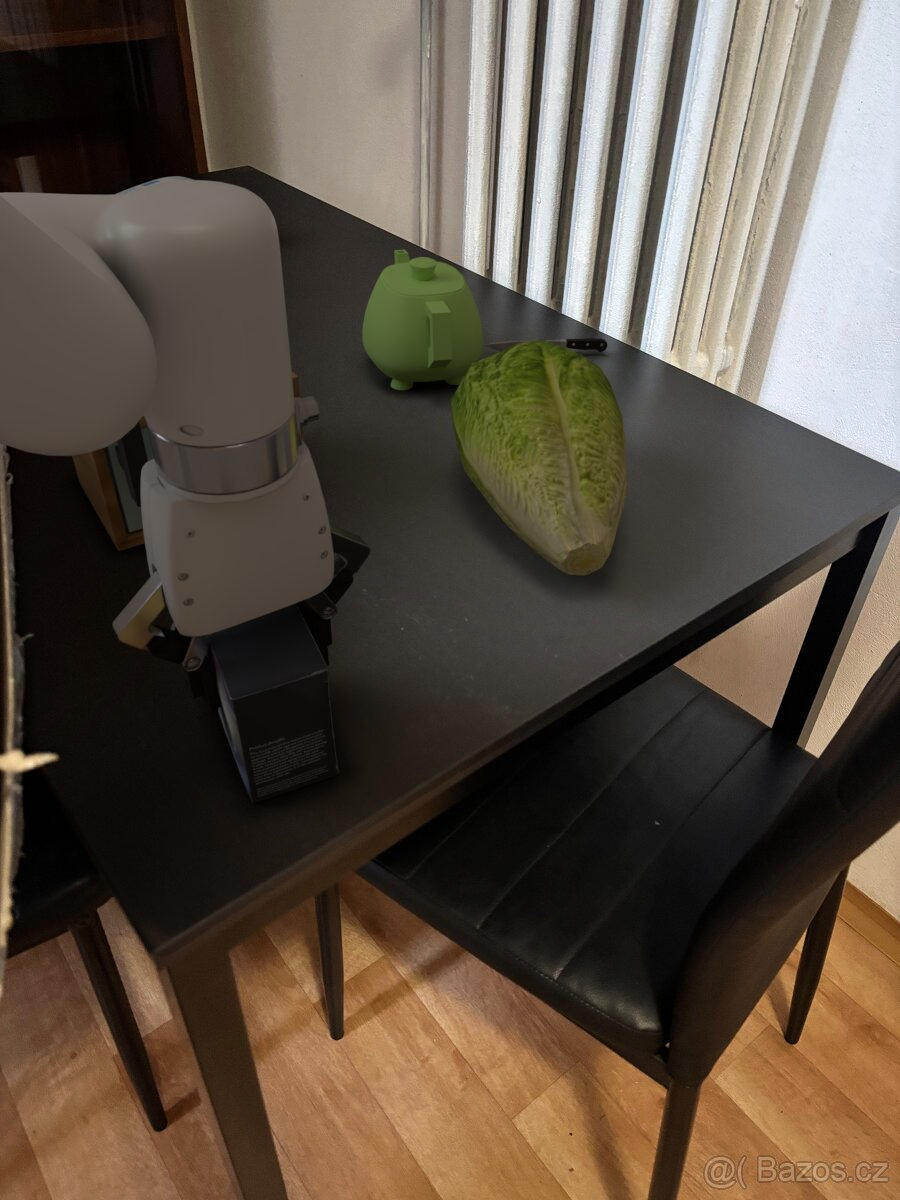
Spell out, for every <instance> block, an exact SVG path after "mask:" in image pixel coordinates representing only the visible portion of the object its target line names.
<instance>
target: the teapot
mask: <svg viewBox="0 0 900 1200" xmlns="http://www.w3.org/2000/svg"><path fill="white" fill-rule="evenodd" d="M393 254H394V264H391V265H388V266H387V267H384V268H383V270H382V271H381V273H380V275H379V277H378V278H377V280H376V282H375V285H374V287H373V290H372V292H371V293H370V296H369V299H368V302H367V305H366V309H365V311H364V317H363V322H362V331H361V332H362V333H361V334H362V336H361V337H362V344H363V347H364V351H365V352H366V354H367V356H368V357H369V359H370V361H372V363H373V364H374V365H375V366H376V367H377V369H378V370H379V371H380V372H382V373H383V374H384V375H385V376H387V377H389V378H391V379H392V380H391V382H390V387H391V388H392V389H394V390H397V391H408V390H410V389H412V388H413V387H414V383H424V382H426V383H427V382H437V381H444V383H446V384H447V385H452V386H459V385H460V383H461V381H462V379H463V378H464V376H465V374H466V373H467V371H468V369H469V368H470V366H471V364H472V363H474V362H477V361H479V360H480V358H481V356H482V353H483V349H484V335H483V326H482V319H481V315H480V312H479V308H478V306H477V303H476V300H475V298H474V296H473V294H472V291H471V289H470V287H469V285H468V283H467V281H466V279H465V277H464V276H463V274H462V273H461V272H460V271H459V270H458V269H456V267H454V266H452V265H450V264H448V263H446V262H442V261H437V260H436V259H433V258H431V257H428V256H427V257H426V256H419V257H415V258H410V256H409V252H408V251H407V250H406V249H394V253H393Z"/></svg>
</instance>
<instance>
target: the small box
mask: <svg viewBox="0 0 900 1200" xmlns="http://www.w3.org/2000/svg"><path fill="white" fill-rule="evenodd" d="M206 656H207V657H208V659H209V661H210V663H211V664H212V666H213V669H214V674H215V679H216V684H217V688H218V693H219V698H220V703H221V707H219V710H217V712H218V715H219V718H220V720H221V724H222V727H223V729H224V733H225V735H226V739H227V741H228V744H229V746H230V747H229V748H230V749H231V752H232V754H233V758H234V761H235V763H236V767H237V769H238V772H239V775H240V777H241V779H242V782H243V784H244V787H245V789H246V792H247V795H248V797H249V800H250V802H251V803H252V804H256V803H260V802H263V801H265V800H268V799H271V798H275V797H277V796H280V795H283V794H287V793H289V792H292V791H295V790H297V789H301V788H304V787H308V786H309V785H313V784H315V783H318V782H321V781H324V780H327V779H330V778H333V777H336V776H338V775H339V773H340V767H339V763H338V757H337V756H338V755H337V750H336V741H335V731H334V725H333V724H334V721H333V713H332V704H331V694H330V669H329V666H327V665H326V663H325V660H324V658H323V656H322V654H321V652H320V650H319V648H318V646H317V644H316V642H315V640H314V638H313V636H312V634H311V632H310V630H309V628H308V626H307V624H306V622H305V620H304V618H303V616H302V614H301V612H300V610H299V608H298V606H297V604H296V603H295V604H292V605H290V606H287V607H284V608H282V609H279V610H276V611H274V612H271V613H268V614H266V615H263V616H260V617H257V618H255V619H252V620H249V621H246V622H243V623H241V624H238V625H235V626H232V627H229V628H226V629H224V630H221V631H218V632H214V633H213V636H212V639H211V641H210V644H209V647H208V649H207V652H206Z"/></svg>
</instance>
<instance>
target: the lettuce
mask: <svg viewBox="0 0 900 1200" xmlns="http://www.w3.org/2000/svg"><path fill="white" fill-rule="evenodd" d="M535 340H536V341H529V342H522V343H517V344H515V345H513V346H511V347H509V348H507V349H505V350H503V351H501V352H500V351H498V352H496V353H495V354H492V355H490V356H487V357H484V358H482V359H479V360H478V361H477V362H474V363H472V364H471V366H470V368H469V369H468V371H467V373H466V374H465V375H464V378H463V379H462V381H461V383H460V385H457V388H456V390H455V391H454V393H453V395H452V397H451V398H450V406H451V407H450V408H451V418H452V419H451V420H452V426H453V432H454V437H455V442H456V446H457V449H458V453H459V456H460V460H461V463H462V466H463V470H464V472H465V473H466V475H467V476H468V477H469V479H470V480H471V482H472V483H473V484H474V486H475V487H476V488H477V490H478V491H479V492H480V494H481V495H482V496H483V498H484V499H485V500H486V502H487V503H488V504H489V506H490V507H491V508H492V510H493V511H494V512H495V513H496V514H497V515H498V517H499V518H500V519H501V520H502V521H503V522H504V523H505V525H506V526H507V527H508V528H509V529H510V530H511V531H512V532H513V533H514V534H515V535H517V537H518V538H520V539H521V540H522V541H523V542H524V543H525V544H526V545H527V546H528V547H529V548H530V549H531V550H532V551H534V553H536V554H537V555H538V556H539V557H541V558H542V559H543V560H545V562H547V563H548V564H550V565H552V566H553V567H555V568H556V569H557V570H559V571H561V572H562V573H564V574H566V575H569V576H587V575H590V574H591V573H594V572H596V571H598V570H600V569H602V568H603V567H604V565H605V563H606V561H607V560H608V559H609V558H610V555H611V552H612V549H613V547H614V543H615V540H616V535H617V532H618V528H619V524H620V520H621V518H622V514H623V511H624V507H625V504H626V499H627V496H628V481H627V462H626V457H627V456H626V455H627V453H626V436H625V428H624V427H625V426H624V420H623V414H622V411H621V409H620V406H619V403H618V401H617V398H616V395H615V392H614V390H613V387H612V385H611V382H610V380H609V378H608V377H607V375H606V374H605V372H604V371H603V370H602V368H601V367H600V366H599V365H597V364H595V363H594V362H592V361H591V360H589V359H588V358H587V357H585V356H583V355H582V354H580V353H578V352H576V351H574V350H573V349H570V348H567V347H562V346H560V345H557V344H554V343H551V342H548V341H545V340H546V339H535Z"/></svg>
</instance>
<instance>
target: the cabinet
mask: <svg viewBox="0 0 900 1200" xmlns="http://www.w3.org/2000/svg"><path fill="white" fill-rule="evenodd" d="M292 381H293V392H294V398H295V397H300V398H301V394H300V382H299V376H298V375H297V374H296V373H295V372H294V371H293V370H292ZM139 423H140V427H141V428H142V427H146V426H147V424H146V420H145V416H144V414H143V416H142V417H141V419H140V420H139ZM301 437H302V440H303V442H304V443H305V439H304V426H303V427H302V431H301ZM71 458H72V461H73V463H74V466H75V467H74V468H75V471H76V475H77V478H78V481H79V485H80V487H81V488H82V490H83V491H84V493H85V495H86V496H87V498H88V500H89V502H90V504H91V506H92V508H93V509H94V511H95V513H96V514H97V516H98V518H99V519H100V522H101V523H102V525H103V527H104V529H105V530H106V532H107V534H108V537H110V539H111V541H112V543H113V544H114V546H115V548H116V549H117V551H118V552H121V551H125V550H128V549H131V548H134V547H138V546H141V545H145V540H144V532H143V528H142V529H139V530H136V531H133V532H129V531H128V529H127V526H126V522H125V518H124V514H123V510H122V506H121V503H120V499H119V495H118V491H117V487H116V483H115V479H114V476H113V472H112V468H111V464H110V460H109V456H108V452H107V448H106V447H105V448H102V449H99V450H96V451H93V452H90V453H85V454H79V455H72V456H71Z"/></svg>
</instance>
